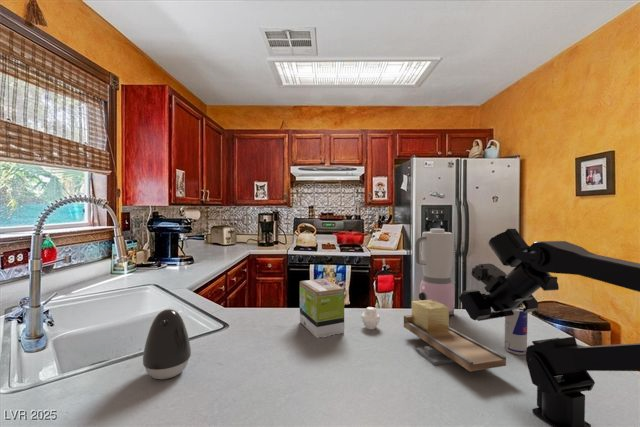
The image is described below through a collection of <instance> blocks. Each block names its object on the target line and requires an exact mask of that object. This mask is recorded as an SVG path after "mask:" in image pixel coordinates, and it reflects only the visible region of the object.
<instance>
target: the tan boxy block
mask: <svg viewBox="0 0 640 427" xmlns="http://www.w3.org/2000/svg"><path fill="white" fill-rule="evenodd" d="M411 315H412V324H413V325H414V326H416V327H418V328H419V329H421V330H422V331H424V332H426V333H427V334H432V333H440V332H448V331H449V327H450V325H449V324H450V315H449V307H448V306H445V305H443V304H441V303H439V302H436V301H434V300H432V299H431V300H420V299H419V300H411Z"/></svg>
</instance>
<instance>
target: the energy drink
mask: <svg viewBox="0 0 640 427" xmlns="http://www.w3.org/2000/svg"><path fill="white" fill-rule="evenodd" d="M524 308H525V307H523V306H521V307H520V308H519V309H515V310H512V311H513V313H514V315H512V316H506V317H504V346H503V347H504V349H505V351H506V352H508V353H510V354H514V355H518V356H519V355H520V356H522V355H526V350H527V347H528V319H529V318H528V313H529V312H528V313H524V311H523V309H524Z"/></svg>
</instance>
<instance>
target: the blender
mask: <svg viewBox="0 0 640 427" xmlns="http://www.w3.org/2000/svg"><path fill="white" fill-rule="evenodd" d="M414 246H415V250H414V251H415V252H414V253H415V256H414V257H415V263H416V264H418V265H421V266H422V271H423V273H422V274H423V277H422V280H421V282H420V285H419V293H418V298H419V301H420V300H431V299H432V300H434V301H436V302H439V303H441V304H443V305H445V306H448V307H449V316H450V315H452V316H454V314H455V308H454V306H455V304H454V302H455V288H454V285H453V283H452V280H451V274H452V269H453V263H454V234H453V233H452V232H449V231H448V232H447V231H445V228H430V229H429V231H422V234H421V236H420V237H418V238H417V239H416V241H415V245H414Z"/></svg>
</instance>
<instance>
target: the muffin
mask: <svg viewBox="0 0 640 427" xmlns="http://www.w3.org/2000/svg"><path fill="white" fill-rule="evenodd" d="M360 318H361V319H362V320H361V321H362V323H363V325H364V327H365V329H367V330H375V329H376V328H377V326H378V325H379V322H380V320H381V315H379V313H378V312H377V309H376V308H375V307H372V306H368V307H366V308H365V309H364V312H363V313H362V314H361V317H360Z"/></svg>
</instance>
